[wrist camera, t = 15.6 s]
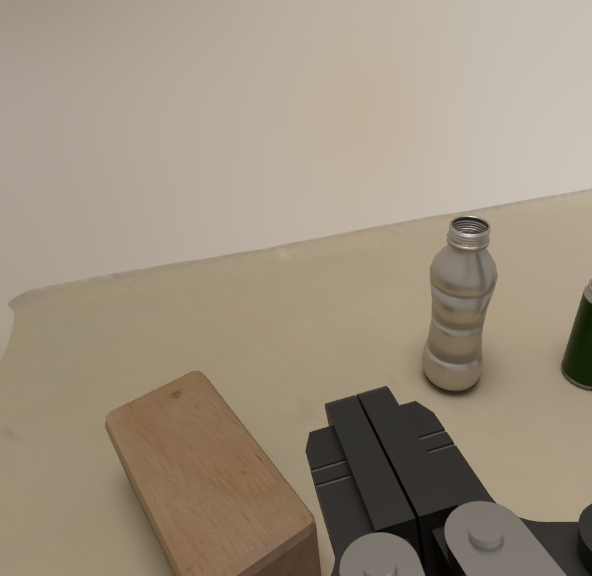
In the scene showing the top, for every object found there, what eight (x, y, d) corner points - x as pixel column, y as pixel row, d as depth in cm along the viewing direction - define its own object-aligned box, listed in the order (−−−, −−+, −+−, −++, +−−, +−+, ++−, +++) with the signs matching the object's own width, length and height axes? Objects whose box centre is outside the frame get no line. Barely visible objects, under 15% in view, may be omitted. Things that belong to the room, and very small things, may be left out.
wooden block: (321, 518, 37) (199, 363, 51) (192, 608, 33) (98, 412, 47) (326, 585, 43) (216, 429, 57) (218, 669, 39) (128, 478, 53)
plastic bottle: (445, 407, 57) (467, 251, 45) (409, 369, 62) (419, 219, 50) (492, 385, 59) (524, 230, 47) (453, 350, 64) (472, 202, 52)
